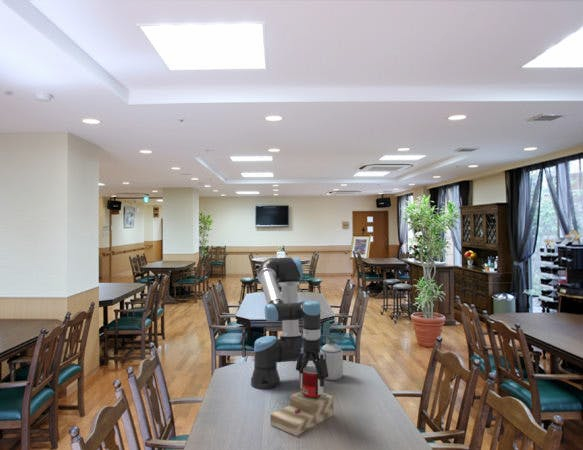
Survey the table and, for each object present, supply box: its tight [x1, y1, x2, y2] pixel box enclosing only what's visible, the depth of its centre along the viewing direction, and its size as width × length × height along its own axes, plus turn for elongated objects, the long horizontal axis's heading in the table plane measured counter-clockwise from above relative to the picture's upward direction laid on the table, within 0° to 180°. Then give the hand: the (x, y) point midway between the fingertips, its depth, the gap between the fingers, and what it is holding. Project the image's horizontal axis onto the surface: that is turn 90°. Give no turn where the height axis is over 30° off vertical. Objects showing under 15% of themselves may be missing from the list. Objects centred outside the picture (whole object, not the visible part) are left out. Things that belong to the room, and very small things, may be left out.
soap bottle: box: [320, 319, 344, 381], centre depth 216 cm, size 12×12×31 cm
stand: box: [269, 389, 334, 437], centre depth 168 cm, size 24×14×8 cm, turn 138°
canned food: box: [302, 365, 321, 398], centre depth 173 cm, size 8×8×11 cm
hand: (311, 390), depth 173 cm, fingers open, 9 cm apart
